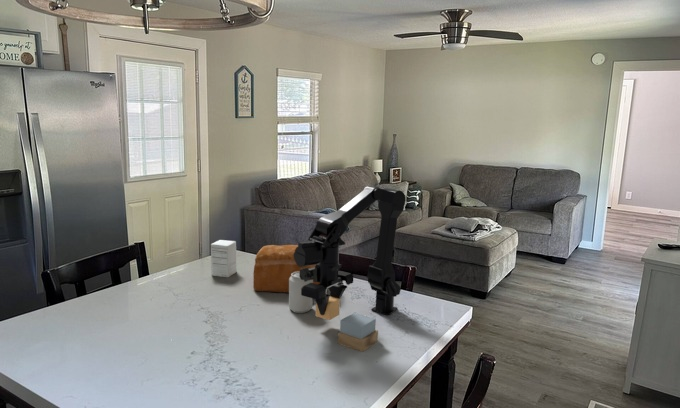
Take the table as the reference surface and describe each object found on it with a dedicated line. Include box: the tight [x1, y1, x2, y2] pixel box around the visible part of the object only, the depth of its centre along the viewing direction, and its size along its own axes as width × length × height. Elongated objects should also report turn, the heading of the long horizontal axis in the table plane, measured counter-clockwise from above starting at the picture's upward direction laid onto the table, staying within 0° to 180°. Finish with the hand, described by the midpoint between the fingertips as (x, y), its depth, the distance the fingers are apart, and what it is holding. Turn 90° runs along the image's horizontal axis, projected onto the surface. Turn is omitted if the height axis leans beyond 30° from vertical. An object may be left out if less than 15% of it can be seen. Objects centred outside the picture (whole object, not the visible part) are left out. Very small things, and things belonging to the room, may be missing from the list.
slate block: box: [339, 312, 377, 339], centre depth 138 cm, size 7×7×4 cm
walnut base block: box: [337, 329, 379, 352], centre depth 138 cm, size 8×8×4 cm
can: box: [288, 271, 313, 314], centre depth 160 cm, size 8×8×12 cm
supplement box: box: [210, 239, 238, 278], centre depth 193 cm, size 7×7×13 cm
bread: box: [252, 244, 319, 294], centre depth 179 cm, size 14×26×16 cm, turn 87°
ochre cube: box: [315, 296, 341, 321], centre depth 146 cm, size 5×5×5 cm
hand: (327, 312), depth 147 cm, fingers closed on ochre cube, 5 cm apart
